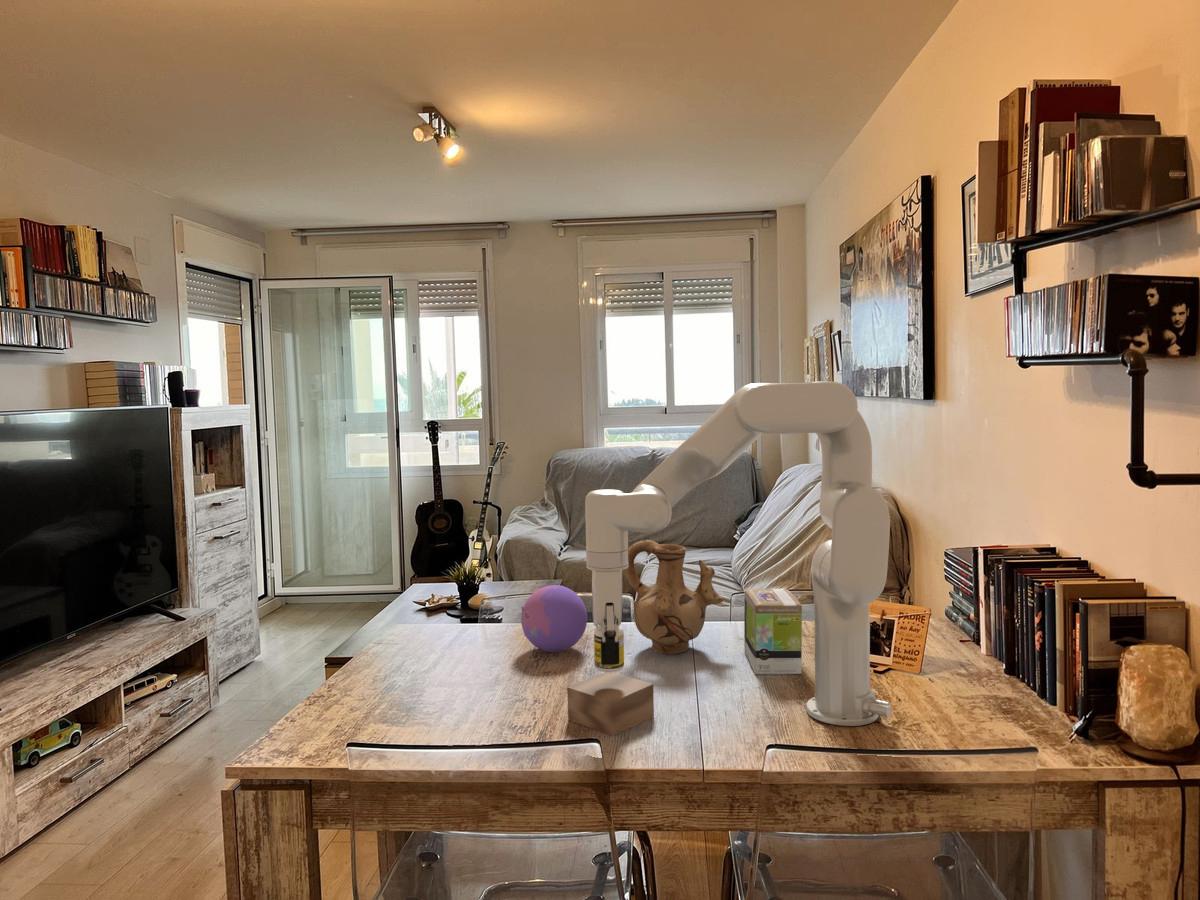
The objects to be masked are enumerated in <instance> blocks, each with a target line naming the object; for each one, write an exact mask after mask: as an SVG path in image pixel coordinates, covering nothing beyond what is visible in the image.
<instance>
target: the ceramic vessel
mask: <svg viewBox="0 0 1200 900" xmlns="http://www.w3.org/2000/svg"><path fill="white" fill-rule="evenodd" d="M644 551H647V552H649V553H652V555H655V557H656V559H657V560H658V567H657V568H658V569H657V575H656V578H655V579H656V580H655V583H654V584H652V585H651V586H649V585H646V584H645V583H643V582H642V581H641V580H640V578H639V576H638V574H637V572H636V569H635V559H636V557H637V556H638V555H639V554H640V553H642V552H644ZM686 551H687V548H686V547H685V546H684V545H680V544H676V543H663V544H662V543H661V544H659V543H658V542H656V541H654V540H650V539H644V540H640V541H637V542H635V543H633V544H632V545H631V546H630V547H628V564H629V567H628V568H627V569H624V570H623V572H624V575H625V577H626V579H627V580H628V582H629V584H630V586H631V587H632V588H633V590H635V591H636V593H637V595H636V598H635V602H634V605H633V616H634V617H633V618H634V622H635V628H636V629H637V630H638V632H639V633H640V634H641V635H642V636H643V637H645V638H647V639H648V640H651V642H652V646H651V647H652V649H653V651H655V652H656V651H657V652H656V653H659V652H661V653H660V654H663V653H666V654H665V655H671V654H679V653H682V652H686V651H688V649H689V647H690V642H689V641H692V640H695V639H696V638H697V637H698V636H699V635H700V634H701V632H702V630H703V628H704V624H705V621H706V610H707V607H708V606H711V605H717V604H721V603H723V602H724V600H725V599H724V597H722V596H721V595H720V594H719V593H717V591H716V590H715V588H714V587H713V583H712V579H713V577H714V576H715V569H714V568H713V567H712V566H709V565H706V564H705V563H704V562H703V561H702V560H701V559H700V560H698V566H699V568H700V572H699V573H700V576H699V577H700V579H699V580H700V581H699V583H698V585H697V586H696V588H695V590H692V589H689V588H688V586H686V584H685V581H684V580H685V579H684V575H683V574H684V572H683V568H684V562H685V558H686Z"/></svg>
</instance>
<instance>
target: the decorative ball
mask: <svg viewBox="0 0 1200 900" xmlns="http://www.w3.org/2000/svg"><path fill="white" fill-rule="evenodd" d="M520 617H521V619H520V621H521V627H522V631H523V635H524V637H525V638H526V639H527V640H528V641H529V643H531V644H532V645H533V646H534V647H535V648H537V649H538V650H540V651H541V650H542V651H543V652H547V653H560V652H564V651H566V650H569V649H570V648H573V646H575V645H576V644H577V643H578V642H579V641H580V640H581V639H582V637H583V635H584V633H585V631H586V628H587V625H588V624H587V623H588V612H587V609H586V605H585V603H584V601H583V600H582V598H581V596H579V594H577V593H576V592H575V591H573V590H572V589H570V588H568V587H566V586H562V585H558V584H552V585H551V584H550V585H546V586H543V587H540V588H538V589H537V590H535V591H534V592H533V593H531V595H529V596H528V598H527V599H526V601H525V603H524V605H523V606H521V616H520Z"/></svg>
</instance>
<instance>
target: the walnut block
mask: <svg viewBox="0 0 1200 900" xmlns="http://www.w3.org/2000/svg"><path fill="white" fill-rule="evenodd" d="M566 690H567V692H566V693H567V720H568V719H570V720H572V721H571V722H573V721H575V722H574V723H576V722H577V723H576V724H579V723H580V725H582V726H584V725H585V727H587V728H590V729H593V730H597V731H599V732H602V733H604V734H607V735H610V736H616V735H618V734H621V733H623V732H625V731H626V730H629V729H631V728H633V727H635V726H636V725H639V724H641V723H644V722H645V721H647V720H649V719H651V718H654V717H655V714H654V713H655V712H654V711H655V709H654V708H655V707H654V701H655V699H654V683H651V682H647V681H644V680H641V679H637V678H635V677H634V678H633V677H630V676H627V675H623V674H619V673H615V672H603V673H600V674H597V675H595V676H592V677H590V678H588V679H586V680H585V679H584V680H583V681H580V682H578V683H575V684H573V685H569V686H567V687H566ZM570 720H569V721H570Z"/></svg>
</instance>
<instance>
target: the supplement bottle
mask: <svg viewBox="0 0 1200 900" xmlns="http://www.w3.org/2000/svg"><path fill="white" fill-rule="evenodd" d="M614 624H615V621H614ZM604 625H607V621H604ZM617 625H618V624H617ZM617 629H618V641H619V664H612V665H602V663H601V642H602V624H601V625H598V627H596V626H595V628H594V631H593V645H594V646H593V650H594V655H593V658H594V659H593V660H594V661H593V662H594V668H595V670H597V671H599V672H603V673H605V672H613V673H615V672H619V671H622V670H623V669H624V667H625V642H624V641H625V640H624V637H625V635H624V633H625V632H624V628H623V627H622V626H621V625H619V626H618V627H617ZM606 630H607V628H605V631H606Z"/></svg>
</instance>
